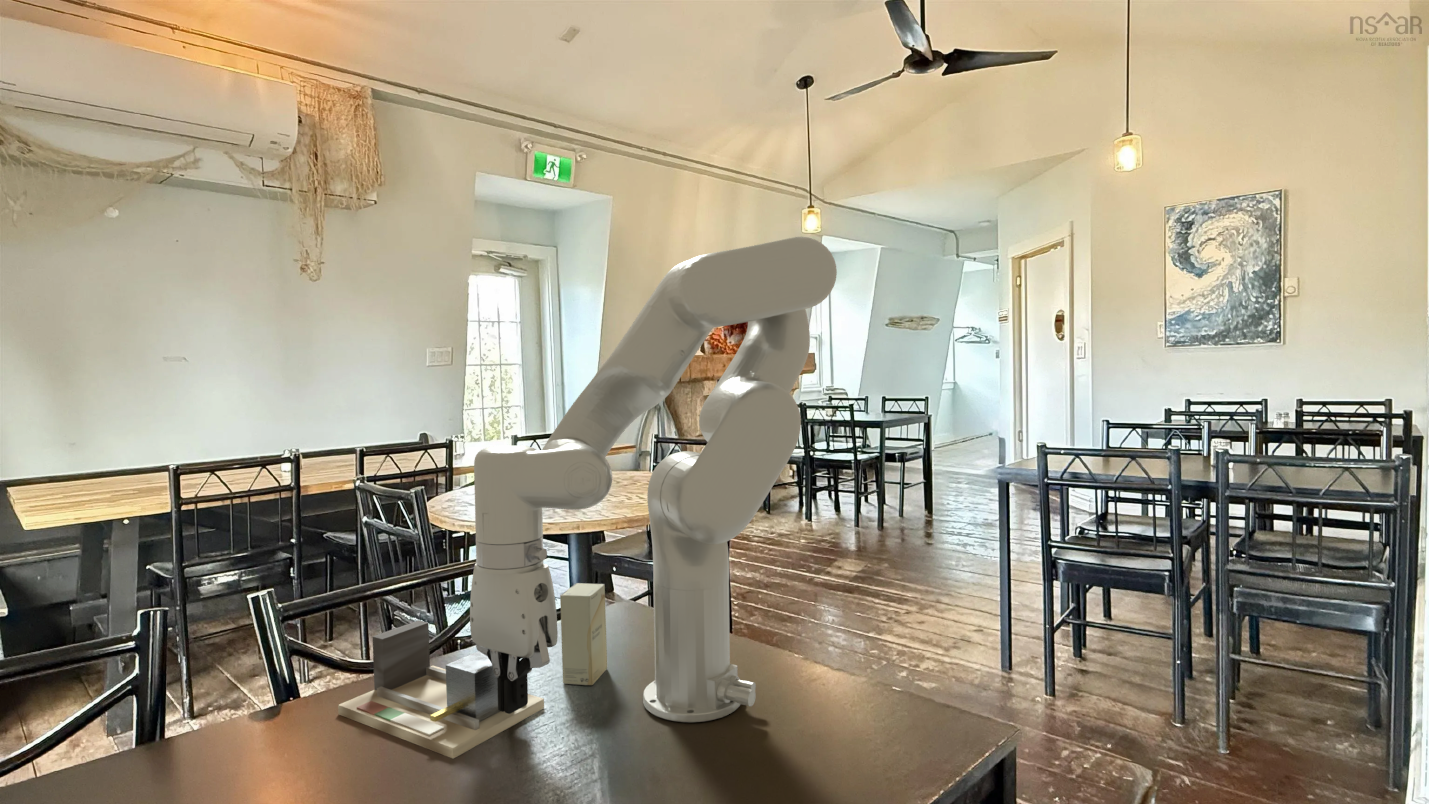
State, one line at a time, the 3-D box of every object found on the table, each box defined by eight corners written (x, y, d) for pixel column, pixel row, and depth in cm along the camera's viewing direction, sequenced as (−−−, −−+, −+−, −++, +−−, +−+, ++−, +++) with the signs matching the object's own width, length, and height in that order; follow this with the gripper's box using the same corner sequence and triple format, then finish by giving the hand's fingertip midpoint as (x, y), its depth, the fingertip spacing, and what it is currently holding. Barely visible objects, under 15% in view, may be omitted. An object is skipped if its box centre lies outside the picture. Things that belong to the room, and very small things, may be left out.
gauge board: (544, 708, 96) (542, 643, 95) (453, 758, 84) (450, 685, 83) (433, 673, 107) (430, 615, 106) (338, 714, 95) (335, 649, 94)
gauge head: (514, 703, 94) (513, 655, 94) (447, 738, 86) (446, 686, 85) (486, 694, 97) (484, 648, 97) (418, 727, 88) (416, 676, 88)
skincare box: (592, 687, 102) (590, 596, 101) (561, 684, 103) (558, 595, 102) (608, 668, 108) (606, 583, 107) (578, 666, 109) (576, 581, 108)
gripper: (581, 554, 88) (583, 710, 89) (489, 539, 96) (492, 682, 97) (534, 569, 82) (537, 737, 83) (439, 552, 89) (443, 706, 90)
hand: (513, 707), depth 90 cm, fingers closed
